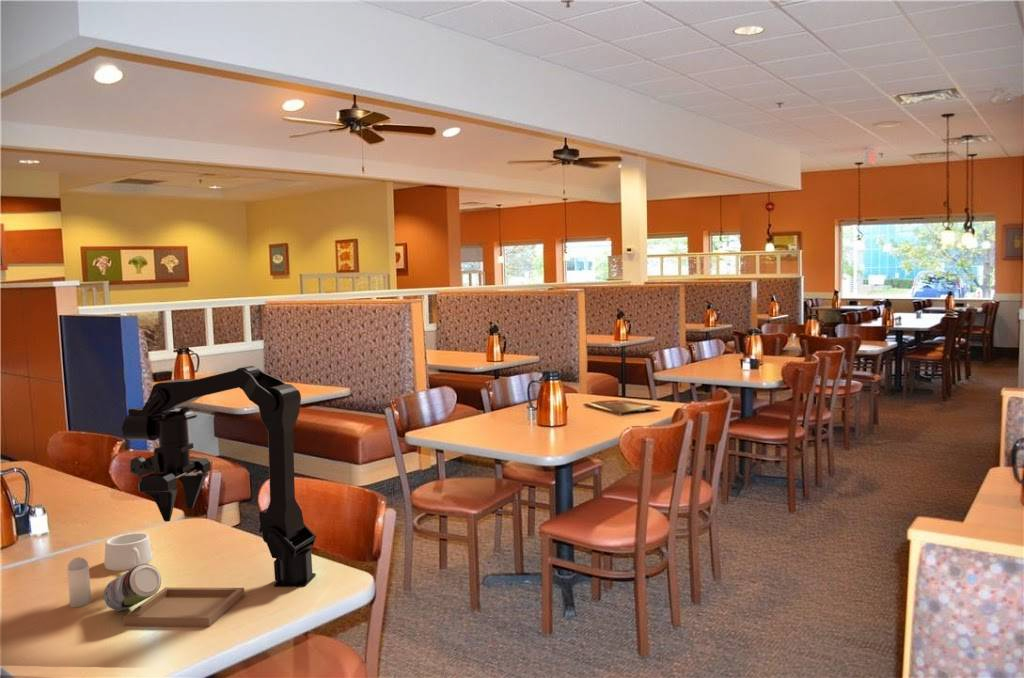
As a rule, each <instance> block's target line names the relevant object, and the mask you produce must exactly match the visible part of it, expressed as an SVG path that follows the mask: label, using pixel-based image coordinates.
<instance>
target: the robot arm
mask: <svg viewBox="0 0 1024 678" xmlns="http://www.w3.org/2000/svg"><path fill="white" fill-rule="evenodd" d="M238 388H239V389H240V390H242V391H243V393H244V394H245V396H246V397H247V399H248V400H249V401H250V402H252V403H253V404H254V405H256V406H257V407H258V410H259V416H260V420H261V421H262V423H263V425H264V426H265V429H266V430H267V441H268V469H269V470H268V471H269V472H268V475H269V477H268V478H269V503H268V507H267V508H265V509H263V510H260V512H259V514H258V515H259V517H258V519H259V531H258V533H259V534H260V533H261V537H262V541H263V542H264V543H266V545H267V548H268V550H269V553H270V555H271V558H272V559H275V560H274V561H273V568H274V569H273V572H274V581H275V583H274V584H273V587H275V588H304V587H307V585H309V583H311V581H312V580H313V579H315V578H316V576H317V574H316V573H315V572H314V573H313V560H312V558H313V557H312V547H314V545H315V543H316V541H317V540H316V539H317V535H316V534H315V533H314V532H313V531H312V530H311V529H310V528H309V527H308V526H307V525H306V524H305V523H304V517H303V512H302V509H301V507H300V505H299V504H298V501H297V500H296V495H295V494H296V492H295V491H296V489H295V453H294V452H295V450H294V447H295V446H294V428H295V425H296V423H297V420H298V417H299V415H300V412H301V411H300V410H301V401H302V396H301V392H300V390H299V389H297V387H296V386H294V385H292V384H289V383H285V382H284V381H283V380H281V379H279V378H277V377H276V376H273V375H271V374H268V373H266V372H264V371H262V370H261V369H260V368H259V367H256V366H254V365H248V366H247V365H246V366H241V367H239V368H237V369H235V370H231V371H227V372H223V373H217V374H213V375H210V376H206V377H205V376H204V377H201V378H196V379H195V378H177V379H173V380H168V381H161V382H157V383H155V384H154V385H152V389H151V391H150V395H149V397H148V398H147V401H146V402H145V404H144V406H143V407H142V408H141V407H133V408H129V409H128V411H127V412H128V413H127V414H128V415H126V417H125V418H124V419H123V423H122V425H121V431H122V435H123V437H124V438H125V439H126V440H128V441H152V442H155V441H157V440H158V447H157V446H156V447H155V448H154V450H153V455H152V456H149V457H146V458H144V457H143V456H142V455H139V456H136V457H134V458H132V459H130V462H129V463H130V465H129V467H130V470H129V471H130V473H131V474H133V475H136V477H137V478H138V479H139V480H138V483H137V486H138V487H137V488H138V492H139V493H143V494H144V495H148V496H149V497H151V498H152V499H153V501H154V502H155V504H156V506H157V508H158V510H159V512H160V515H161V518H162V520H163V521H164V522H171V518H172V515H173V511H174V508H175V502H176V498H177V492H178V487H176V486H177V483H178V481H180V483H181V484H182V487H183V493H184V499H185V500H184V501H185V505H186V508H187V509H188V510H192V509H193V508H194V507H195V504H196V502H197V499H198V497H199V494H200V492H201V490H202V487H203V485H204V482H205V480H206V477H207V476H208V475H209V473H208V472H210V471H211V470H212V468H211V467H212V465H211V461H210V460H209V459H208V458H207V457H191V456H190V455H191V454H190V450H191V449H194V443H193V442H190V437H189V423H188V420H191V419H195V418H197V417H198V416H197V414H196V413H195V412H194V411H193V410H192V409H190V407H188V406H187V407H183V406H186V405H188V404H191V403H193V402H195V401H197V400H199V399H200V398H203V397H205V396H209V395H212V394H217V393H222V392H226V391H230V390H235V389H238ZM179 407H183V408H180V410H175V409H177V408H179ZM164 413H165V414H164ZM177 479H178V481H177Z"/></svg>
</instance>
